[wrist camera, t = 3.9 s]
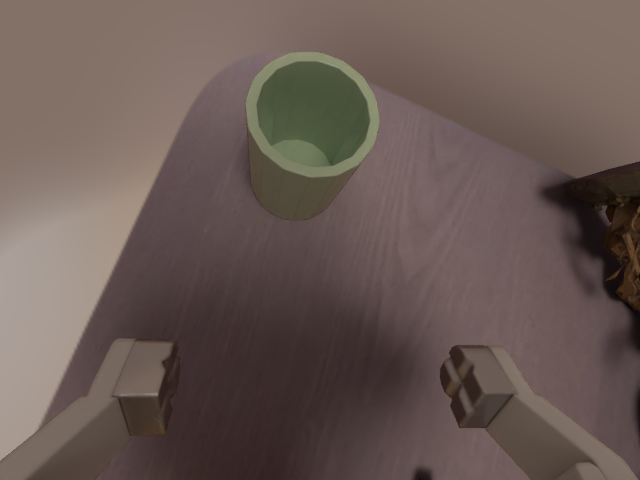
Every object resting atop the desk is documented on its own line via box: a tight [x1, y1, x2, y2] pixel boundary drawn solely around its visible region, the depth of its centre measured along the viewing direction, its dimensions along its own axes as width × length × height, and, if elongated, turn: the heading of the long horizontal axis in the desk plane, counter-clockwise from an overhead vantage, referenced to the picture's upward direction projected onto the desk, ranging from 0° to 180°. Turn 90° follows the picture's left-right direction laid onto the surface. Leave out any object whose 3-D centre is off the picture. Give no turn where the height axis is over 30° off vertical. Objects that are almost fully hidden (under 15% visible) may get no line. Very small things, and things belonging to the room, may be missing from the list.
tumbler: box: [245, 52, 380, 220], centre depth 20 cm, size 6×6×9 cm
